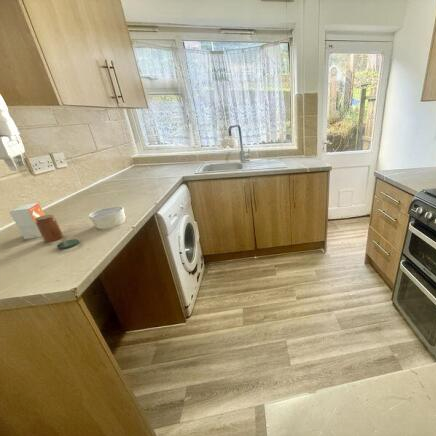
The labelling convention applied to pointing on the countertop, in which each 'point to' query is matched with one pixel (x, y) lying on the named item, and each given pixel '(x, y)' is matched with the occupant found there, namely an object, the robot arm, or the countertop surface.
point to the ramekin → (108, 217)
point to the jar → (49, 228)
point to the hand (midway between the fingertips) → (18, 168)
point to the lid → (67, 244)
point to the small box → (27, 219)
